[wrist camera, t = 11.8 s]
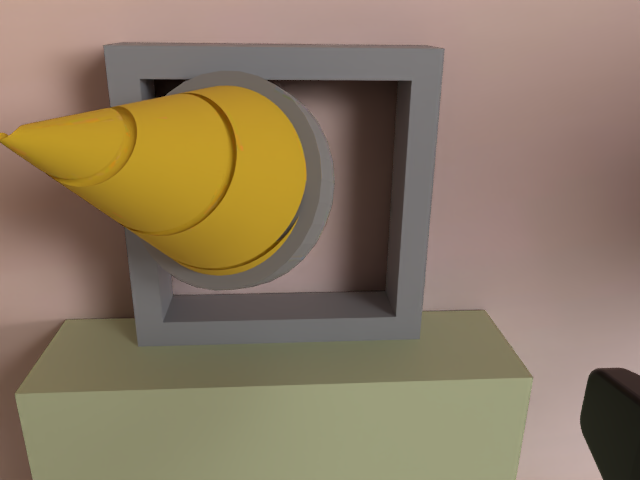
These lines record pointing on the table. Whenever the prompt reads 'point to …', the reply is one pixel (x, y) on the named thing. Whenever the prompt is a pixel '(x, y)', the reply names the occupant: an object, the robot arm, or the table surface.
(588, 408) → the robot arm
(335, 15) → the table surface
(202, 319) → the green box with handle
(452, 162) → the table surface
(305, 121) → the yellow cone shape
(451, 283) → the table surface
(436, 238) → the table surface
